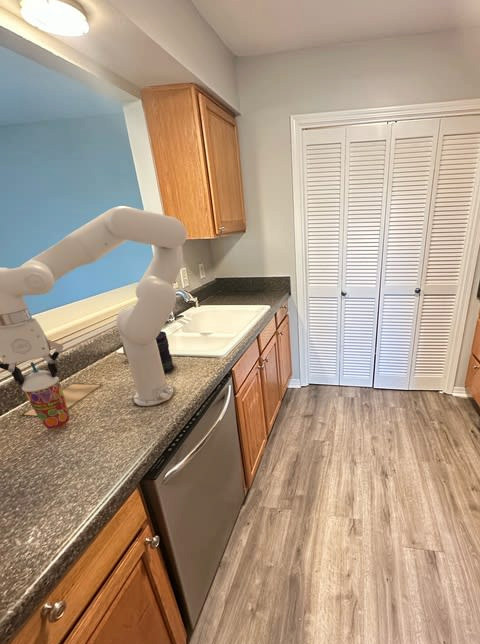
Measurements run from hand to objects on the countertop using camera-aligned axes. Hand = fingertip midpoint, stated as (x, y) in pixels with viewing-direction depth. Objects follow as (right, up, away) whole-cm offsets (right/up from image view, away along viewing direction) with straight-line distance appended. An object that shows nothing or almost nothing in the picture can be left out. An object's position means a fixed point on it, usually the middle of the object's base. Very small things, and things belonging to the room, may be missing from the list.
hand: (38, 378), depth 90 cm
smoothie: (+1, -14, +6) cm, 15 cm away
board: (-9, -9, +22) cm, 26 cm away
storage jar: (+17, 0, +40) cm, 44 cm away
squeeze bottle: (+1, +4, +52) cm, 52 cm away
